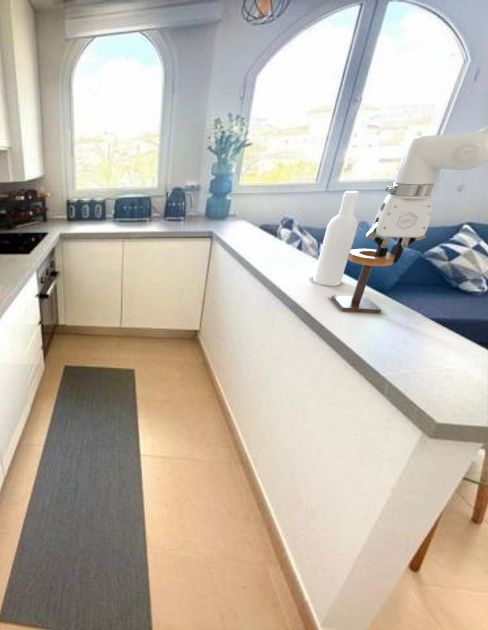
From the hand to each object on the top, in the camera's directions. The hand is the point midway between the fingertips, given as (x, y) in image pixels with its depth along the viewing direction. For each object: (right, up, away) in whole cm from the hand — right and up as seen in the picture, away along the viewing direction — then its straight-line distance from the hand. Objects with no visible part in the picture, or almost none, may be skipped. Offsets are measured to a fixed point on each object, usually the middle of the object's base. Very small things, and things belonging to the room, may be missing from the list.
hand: (385, 260), depth 94 cm
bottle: (+2, -4, +25) cm, 25 cm away
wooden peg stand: (-3, -13, +7) cm, 15 cm away
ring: (-3, 0, +1) cm, 4 cm away
